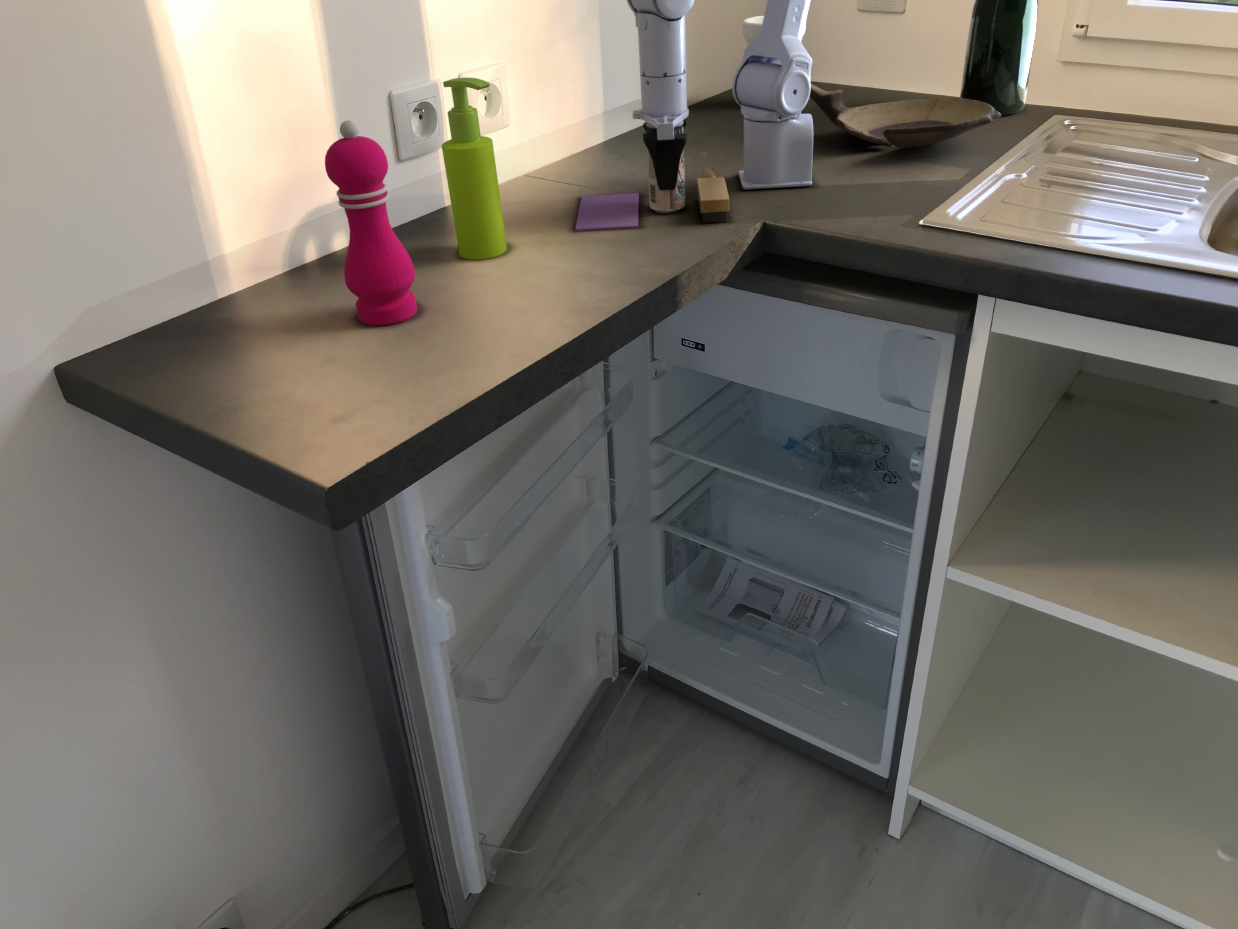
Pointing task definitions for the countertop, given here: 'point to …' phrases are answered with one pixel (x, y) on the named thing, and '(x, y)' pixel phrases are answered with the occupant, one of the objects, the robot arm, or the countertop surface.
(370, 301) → the pepper mill
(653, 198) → the beer can
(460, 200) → the soap dispenser
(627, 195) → the cloth
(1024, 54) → the beer bottle
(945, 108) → the brown handled bowl
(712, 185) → the hand brush
